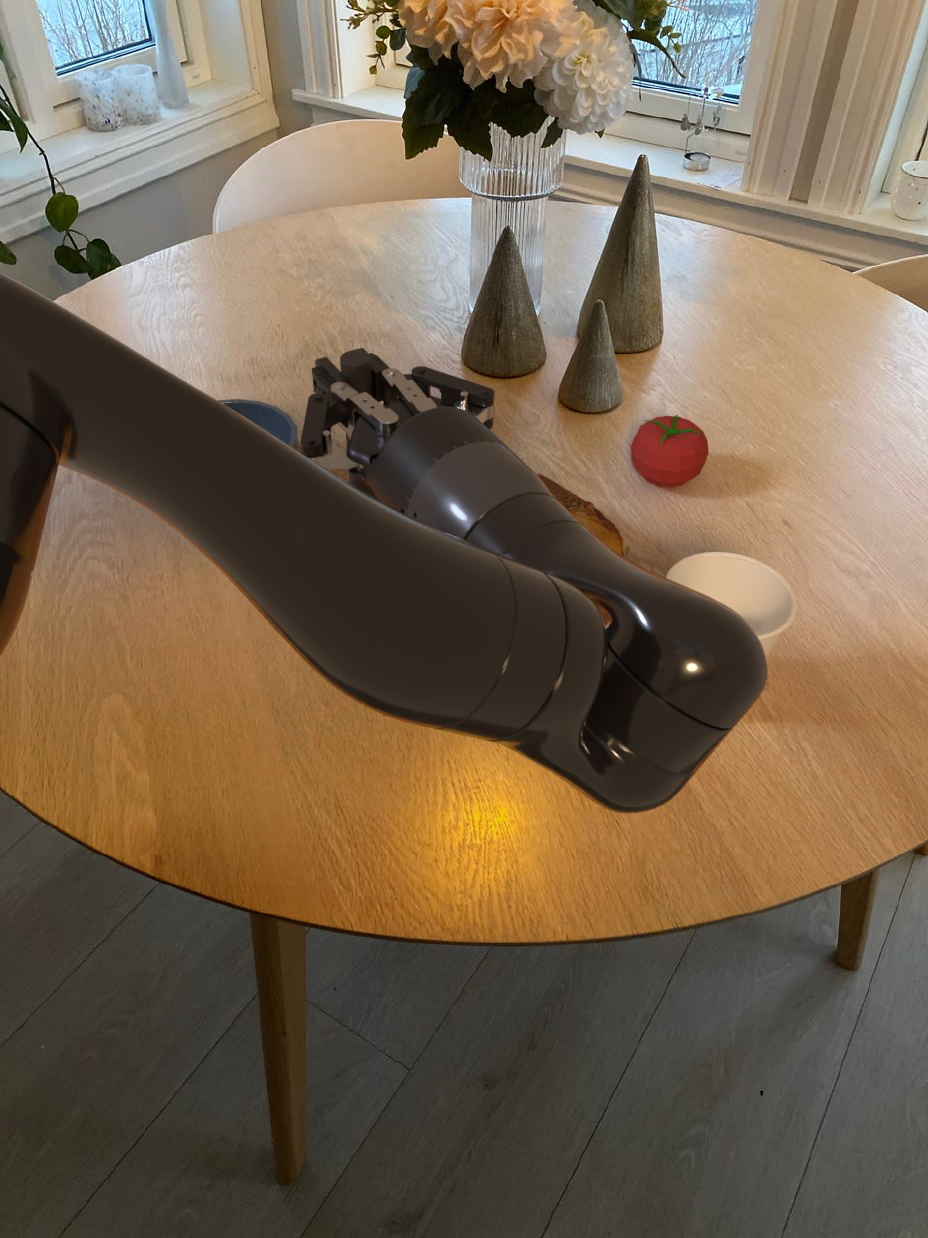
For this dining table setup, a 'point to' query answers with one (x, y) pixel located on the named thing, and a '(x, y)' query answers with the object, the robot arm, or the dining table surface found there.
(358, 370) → the grey peg stand
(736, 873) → the dining table surface
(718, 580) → the cup
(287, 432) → the bowl
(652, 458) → the tomato
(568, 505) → the seashell
